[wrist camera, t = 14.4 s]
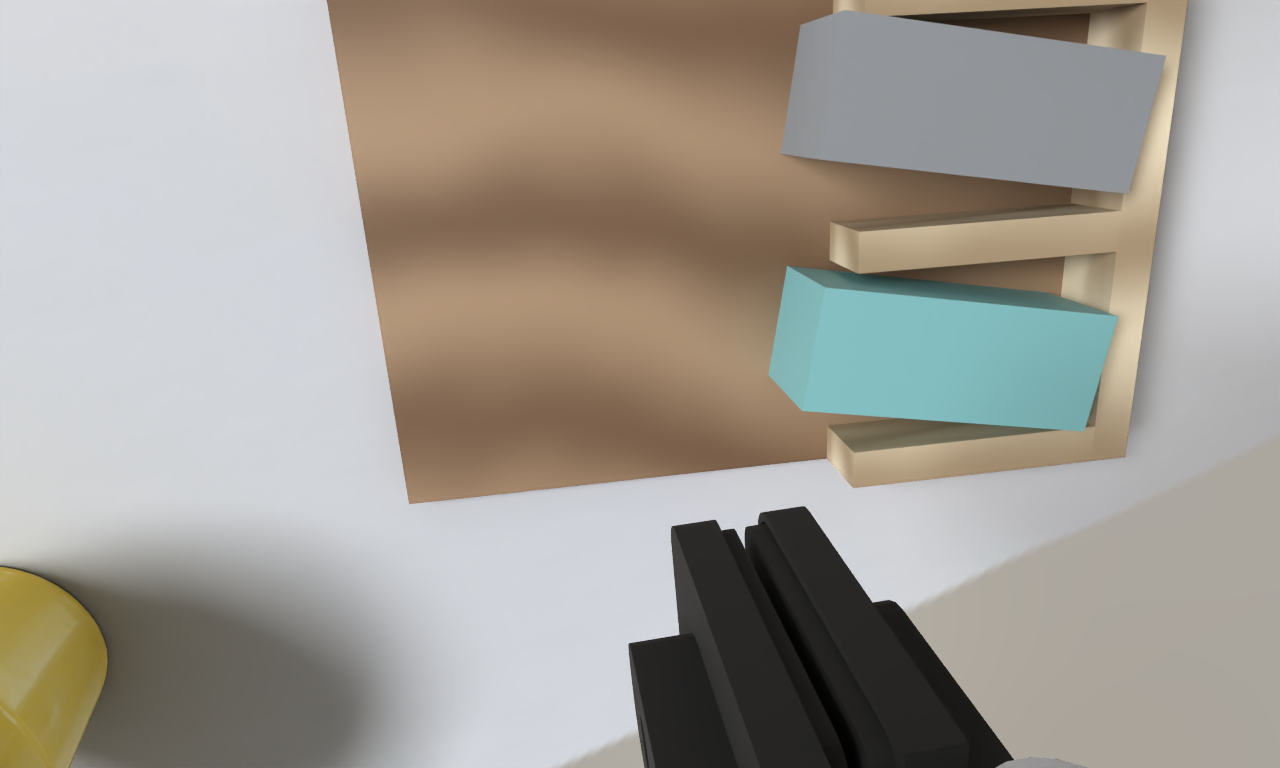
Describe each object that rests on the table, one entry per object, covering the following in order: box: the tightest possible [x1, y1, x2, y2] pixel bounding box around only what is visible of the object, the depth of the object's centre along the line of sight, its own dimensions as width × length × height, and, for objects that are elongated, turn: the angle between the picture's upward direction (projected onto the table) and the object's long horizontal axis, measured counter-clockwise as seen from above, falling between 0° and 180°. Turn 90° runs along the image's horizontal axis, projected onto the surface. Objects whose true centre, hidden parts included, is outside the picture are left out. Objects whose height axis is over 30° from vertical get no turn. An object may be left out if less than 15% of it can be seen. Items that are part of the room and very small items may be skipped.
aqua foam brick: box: [768, 266, 1118, 431], centre depth 25 cm, size 4×9×4 cm, turn 83°
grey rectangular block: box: [781, 10, 1166, 194], centre depth 23 cm, size 4×9×4 cm, turn 83°
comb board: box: [327, 0, 1188, 504], centre depth 25 cm, size 15×24×3 cm, turn 93°
